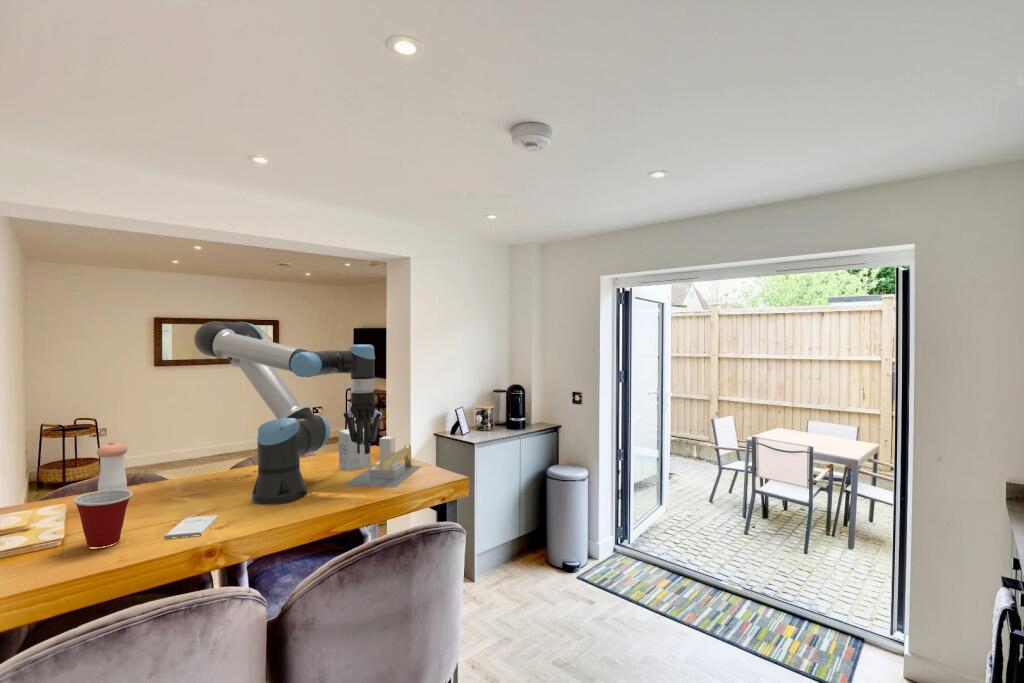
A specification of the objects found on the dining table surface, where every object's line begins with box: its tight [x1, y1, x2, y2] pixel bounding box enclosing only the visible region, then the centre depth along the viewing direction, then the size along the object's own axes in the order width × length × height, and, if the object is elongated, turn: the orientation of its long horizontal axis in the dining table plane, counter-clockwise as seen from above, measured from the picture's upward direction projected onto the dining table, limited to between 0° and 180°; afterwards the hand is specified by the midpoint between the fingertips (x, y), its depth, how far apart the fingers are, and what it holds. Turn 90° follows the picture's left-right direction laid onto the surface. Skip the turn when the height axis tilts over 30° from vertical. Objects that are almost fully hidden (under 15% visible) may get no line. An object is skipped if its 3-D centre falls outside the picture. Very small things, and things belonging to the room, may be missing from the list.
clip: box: [378, 444, 412, 471], centre depth 170 cm, size 2×25×7 cm, turn 172°
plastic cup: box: [73, 489, 134, 547], centre depth 117 cm, size 11×11×12 cm
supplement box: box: [338, 427, 372, 471], centre depth 182 cm, size 9×9×15 cm
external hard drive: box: [163, 515, 219, 539], centre depth 127 cm, size 2×8×12 cm
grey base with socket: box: [343, 462, 422, 488], centre depth 170 cm, size 18×26×4 cm
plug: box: [374, 435, 401, 469], centre depth 170 cm, size 6×6×13 cm
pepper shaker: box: [96, 440, 128, 491], centre depth 145 cm, size 7×7×19 cm
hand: (363, 463), depth 161 cm, fingers closed
